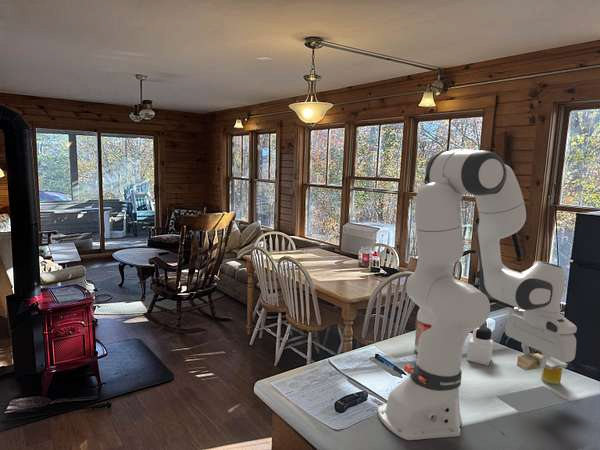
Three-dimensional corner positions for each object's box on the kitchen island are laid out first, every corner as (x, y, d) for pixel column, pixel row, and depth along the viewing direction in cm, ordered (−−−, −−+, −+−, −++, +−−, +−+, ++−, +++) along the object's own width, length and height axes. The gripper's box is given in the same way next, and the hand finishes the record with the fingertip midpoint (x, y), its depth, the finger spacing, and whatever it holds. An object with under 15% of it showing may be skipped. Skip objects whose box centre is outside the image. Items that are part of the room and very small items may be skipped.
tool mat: (521, 415, 115) (521, 413, 115) (495, 398, 123) (495, 396, 123) (570, 403, 122) (571, 401, 122) (543, 387, 131) (543, 385, 131)
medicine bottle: (491, 358, 150) (495, 327, 148) (488, 366, 144) (492, 333, 142) (470, 353, 154) (473, 322, 152) (466, 360, 148) (470, 328, 146)
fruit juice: (426, 344, 160) (432, 273, 156) (446, 353, 152) (453, 279, 148) (408, 348, 155) (415, 276, 151) (428, 359, 147) (435, 282, 143)
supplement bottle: (562, 388, 131) (566, 359, 129) (544, 386, 132) (547, 357, 131) (555, 380, 136) (559, 352, 135) (538, 377, 137) (541, 350, 136)
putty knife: (530, 373, 116) (531, 363, 116) (512, 363, 122) (513, 353, 121) (566, 367, 122) (568, 357, 121) (548, 358, 127) (549, 348, 127)
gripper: (503, 305, 127) (497, 348, 129) (567, 331, 109) (559, 380, 110) (518, 304, 130) (512, 346, 131) (583, 329, 111) (575, 378, 113)
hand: (534, 362), depth 121 cm, fingers closed on putty knife, 3 cm apart
